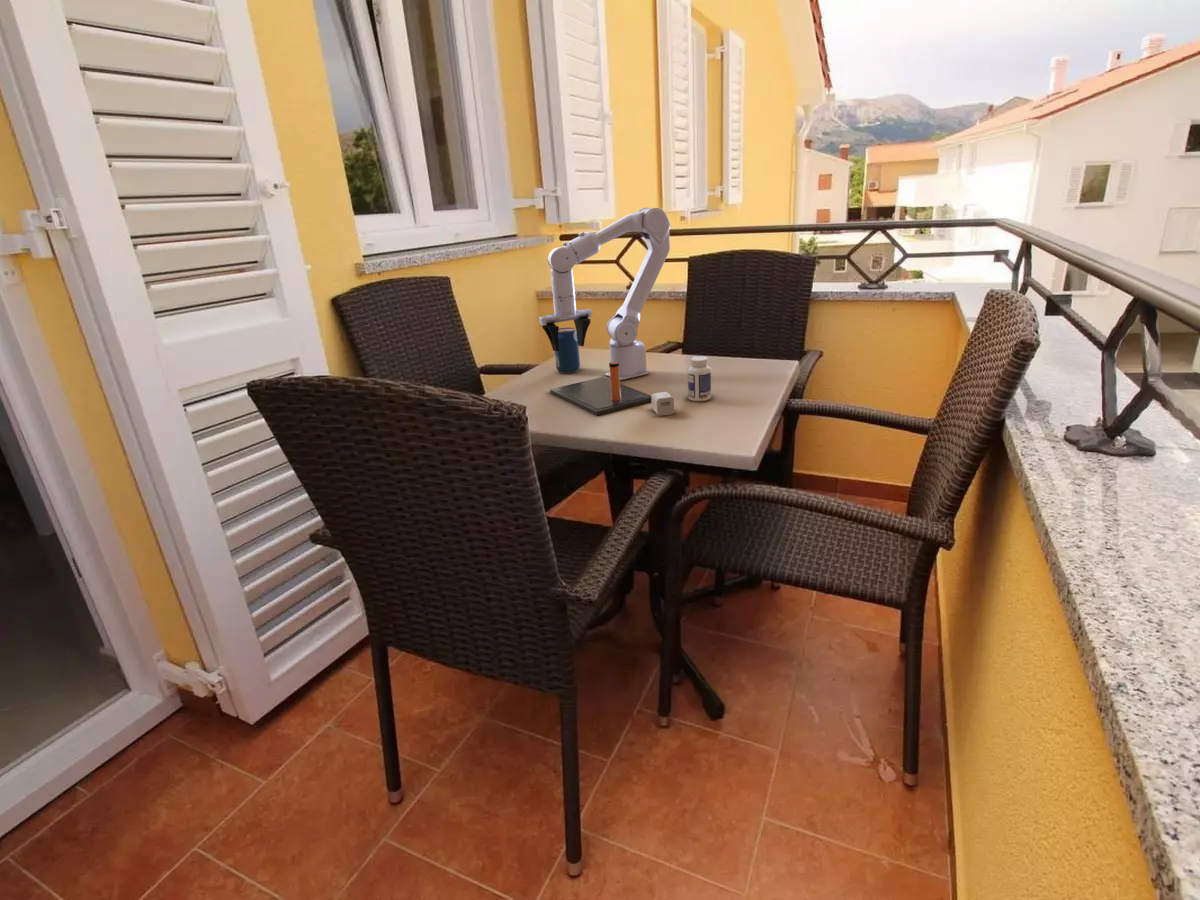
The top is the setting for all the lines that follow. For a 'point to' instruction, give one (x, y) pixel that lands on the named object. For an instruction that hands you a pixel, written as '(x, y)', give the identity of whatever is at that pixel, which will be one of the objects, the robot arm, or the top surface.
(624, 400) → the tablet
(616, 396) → the orange marker
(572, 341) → the soda can
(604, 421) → the top surface
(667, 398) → the usb wall charger
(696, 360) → the pill bottle
